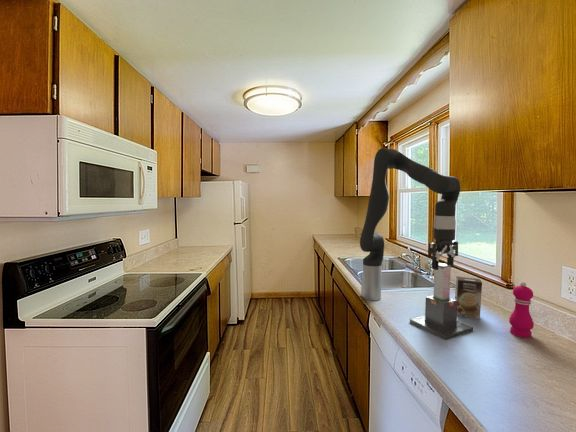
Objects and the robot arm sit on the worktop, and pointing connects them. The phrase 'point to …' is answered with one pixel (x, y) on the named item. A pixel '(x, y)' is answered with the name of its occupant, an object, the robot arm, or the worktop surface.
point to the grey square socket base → (441, 319)
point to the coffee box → (468, 297)
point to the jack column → (442, 282)
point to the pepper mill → (521, 312)
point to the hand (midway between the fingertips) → (442, 268)
